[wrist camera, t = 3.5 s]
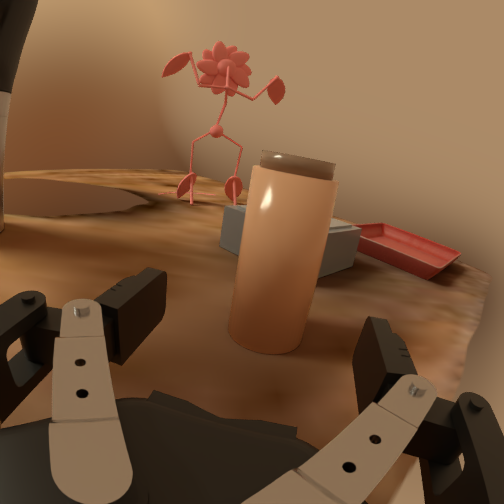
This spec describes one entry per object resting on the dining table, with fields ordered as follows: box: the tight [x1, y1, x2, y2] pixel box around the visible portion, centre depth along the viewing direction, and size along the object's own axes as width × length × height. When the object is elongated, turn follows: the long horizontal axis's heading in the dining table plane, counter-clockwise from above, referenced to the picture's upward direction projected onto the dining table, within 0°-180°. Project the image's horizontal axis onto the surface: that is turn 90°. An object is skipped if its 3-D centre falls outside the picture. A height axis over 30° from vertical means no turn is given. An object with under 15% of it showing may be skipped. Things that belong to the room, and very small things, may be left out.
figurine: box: [158, 41, 285, 205], centre depth 62 cm, size 15×26×35 cm, turn 115°
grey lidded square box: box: [219, 205, 362, 278], centre depth 38 cm, size 12×12×5 cm
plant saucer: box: [353, 223, 461, 280], centre depth 48 cm, size 18×18×3 cm
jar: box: [228, 150, 339, 354], centre depth 20 cm, size 5×5×12 cm
